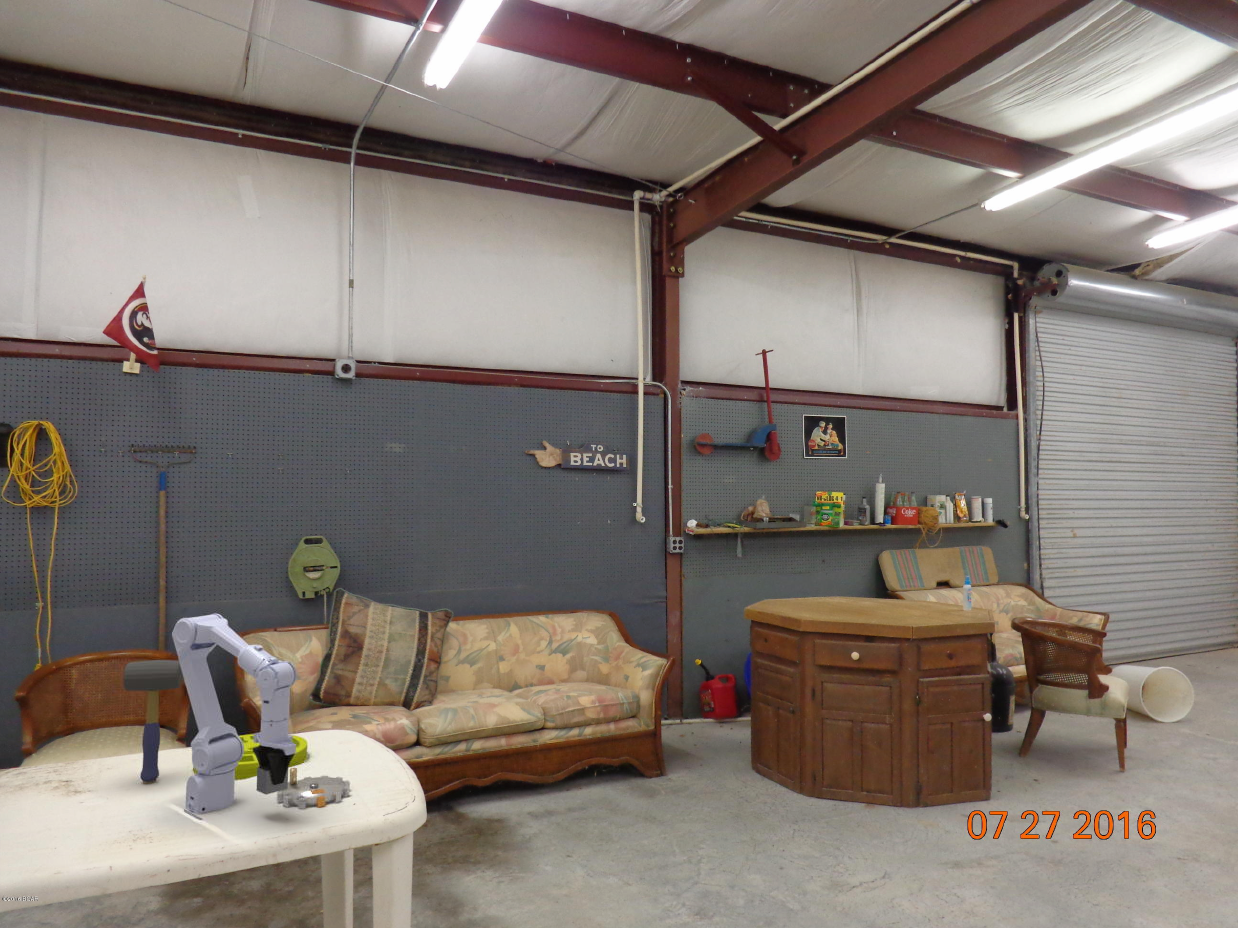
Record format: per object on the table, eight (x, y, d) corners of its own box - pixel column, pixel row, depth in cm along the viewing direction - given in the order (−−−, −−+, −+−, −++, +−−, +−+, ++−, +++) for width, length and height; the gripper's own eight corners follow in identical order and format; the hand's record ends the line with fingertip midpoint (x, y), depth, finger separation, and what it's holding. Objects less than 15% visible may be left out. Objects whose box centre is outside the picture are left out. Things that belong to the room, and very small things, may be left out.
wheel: (337, 808, 183) (338, 783, 183) (265, 808, 182) (266, 783, 182) (357, 783, 199) (358, 761, 199) (291, 783, 198) (292, 760, 198)
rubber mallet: (180, 775, 207) (185, 656, 208) (173, 785, 199) (179, 661, 201) (125, 779, 203) (130, 658, 204) (116, 789, 196) (122, 664, 197)
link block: (265, 794, 175) (266, 771, 175) (256, 790, 178) (257, 767, 178) (287, 788, 179) (288, 765, 179) (278, 784, 182) (278, 761, 182)
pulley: (180, 761, 219) (181, 742, 219) (285, 742, 237) (286, 724, 237) (210, 789, 198) (211, 768, 198) (322, 766, 216) (323, 747, 217)
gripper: (309, 720, 178) (307, 783, 177) (275, 709, 187) (273, 769, 186) (279, 727, 172) (276, 792, 172) (245, 715, 181) (243, 777, 181)
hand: (272, 781), depth 179 cm, fingers closed on link block, 4 cm apart
